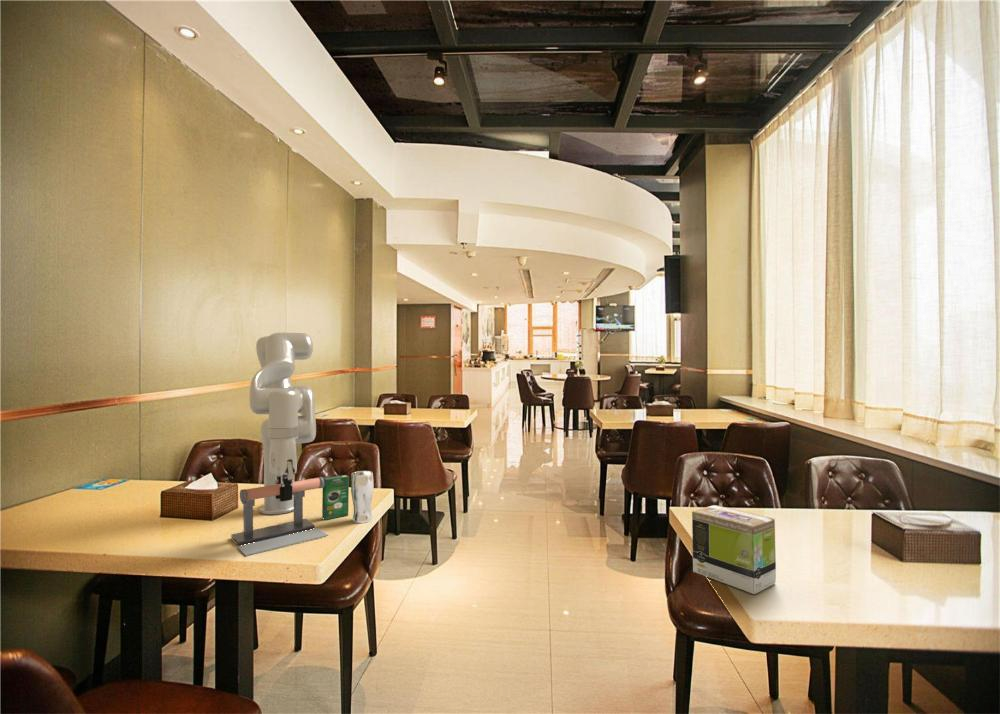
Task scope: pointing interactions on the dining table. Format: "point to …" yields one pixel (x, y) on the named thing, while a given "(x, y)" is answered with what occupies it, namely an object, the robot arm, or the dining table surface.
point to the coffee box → (335, 497)
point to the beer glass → (362, 495)
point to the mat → (281, 542)
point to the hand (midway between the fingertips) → (283, 498)
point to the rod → (275, 489)
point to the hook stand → (272, 531)
